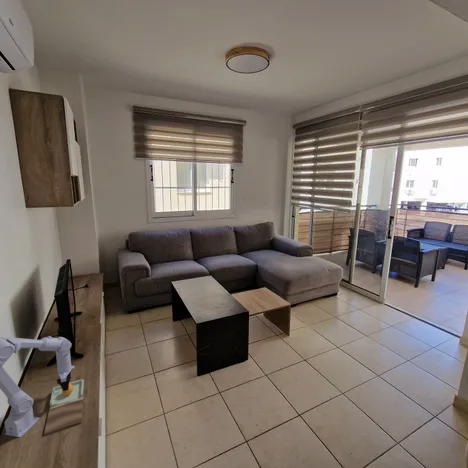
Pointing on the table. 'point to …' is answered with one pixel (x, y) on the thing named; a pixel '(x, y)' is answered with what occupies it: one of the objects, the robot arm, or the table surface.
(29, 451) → the table surface
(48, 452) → the table surface
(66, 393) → the ball
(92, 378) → the table surface
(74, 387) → the tray
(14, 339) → the robot arm
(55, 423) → the lane
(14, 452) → the table surface
